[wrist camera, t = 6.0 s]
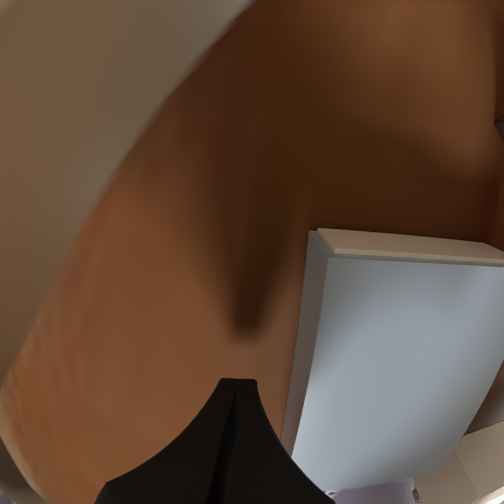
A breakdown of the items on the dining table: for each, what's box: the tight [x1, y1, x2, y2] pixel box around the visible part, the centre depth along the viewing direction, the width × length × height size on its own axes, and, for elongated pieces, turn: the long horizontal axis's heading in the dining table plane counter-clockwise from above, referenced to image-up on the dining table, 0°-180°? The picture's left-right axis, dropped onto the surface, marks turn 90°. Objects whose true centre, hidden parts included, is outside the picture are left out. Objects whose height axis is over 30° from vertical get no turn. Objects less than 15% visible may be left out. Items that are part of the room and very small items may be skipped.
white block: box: [280, 228, 504, 491], centre depth 12 cm, size 12×9×4 cm
